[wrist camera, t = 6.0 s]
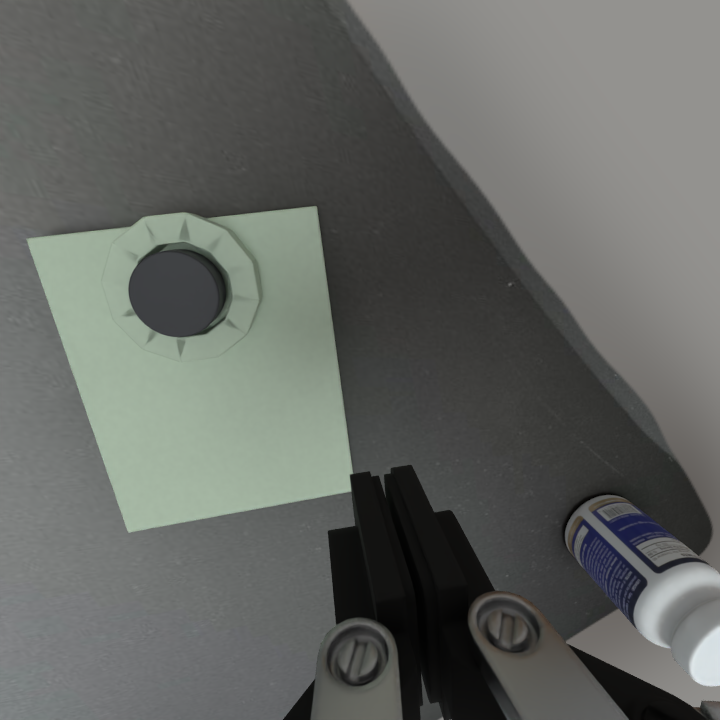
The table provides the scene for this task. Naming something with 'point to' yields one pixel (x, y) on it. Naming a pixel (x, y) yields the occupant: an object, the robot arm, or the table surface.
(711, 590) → the pill bottle
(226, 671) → the table surface
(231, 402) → the scale
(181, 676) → the table surface
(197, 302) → the button
